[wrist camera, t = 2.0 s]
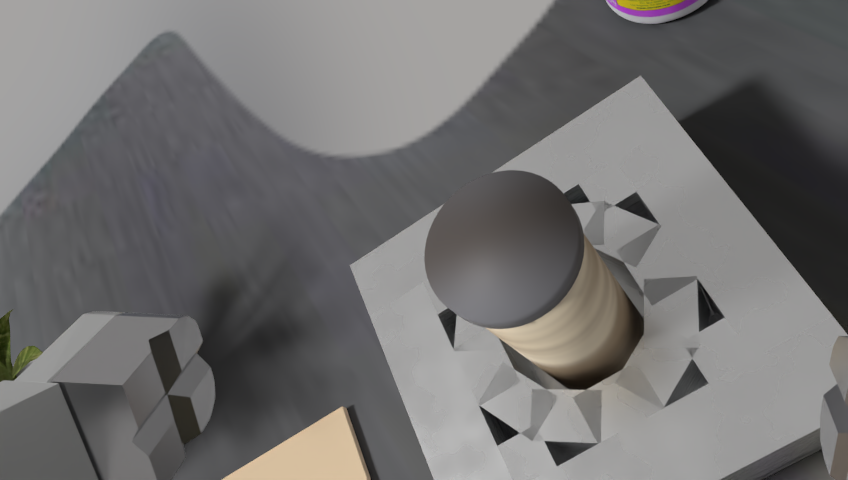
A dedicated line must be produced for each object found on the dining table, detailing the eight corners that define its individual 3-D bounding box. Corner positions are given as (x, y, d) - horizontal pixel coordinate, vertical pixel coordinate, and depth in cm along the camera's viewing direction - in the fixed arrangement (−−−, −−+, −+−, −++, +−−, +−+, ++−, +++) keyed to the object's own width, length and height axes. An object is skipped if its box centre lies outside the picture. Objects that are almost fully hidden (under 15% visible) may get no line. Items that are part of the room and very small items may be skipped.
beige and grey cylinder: (676, 361, 32) (608, 264, 22) (570, 420, 33) (460, 352, 23) (615, 266, 35) (531, 141, 25) (519, 323, 36) (402, 225, 26)
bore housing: (883, 417, 29) (892, 390, 25) (526, 599, 32) (482, 602, 28) (661, 130, 37) (640, 75, 33) (398, 297, 41) (349, 265, 36)
